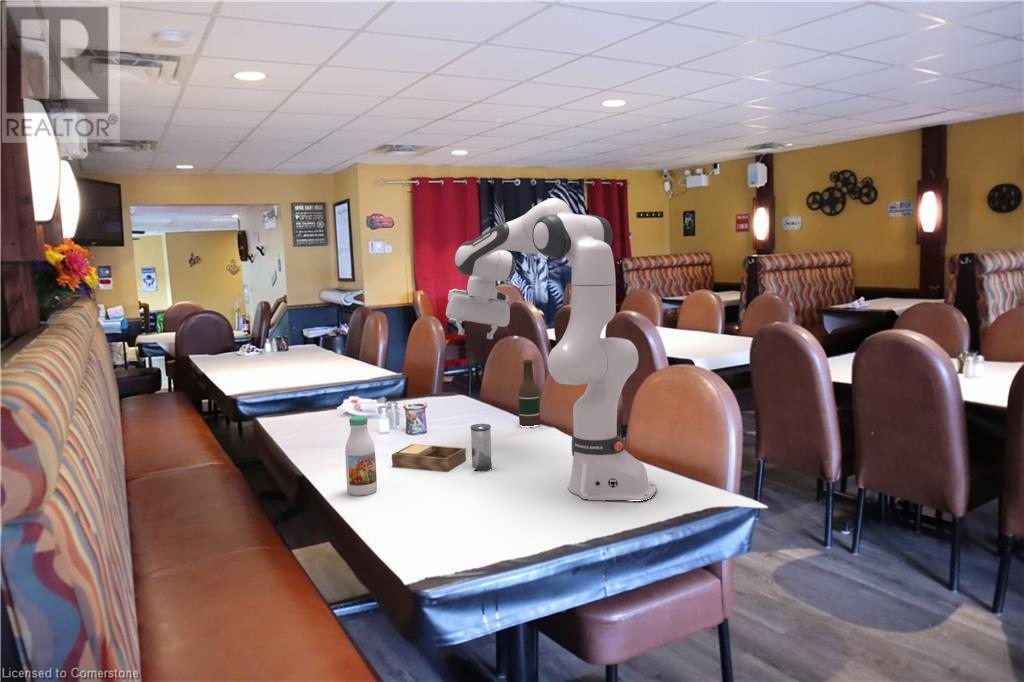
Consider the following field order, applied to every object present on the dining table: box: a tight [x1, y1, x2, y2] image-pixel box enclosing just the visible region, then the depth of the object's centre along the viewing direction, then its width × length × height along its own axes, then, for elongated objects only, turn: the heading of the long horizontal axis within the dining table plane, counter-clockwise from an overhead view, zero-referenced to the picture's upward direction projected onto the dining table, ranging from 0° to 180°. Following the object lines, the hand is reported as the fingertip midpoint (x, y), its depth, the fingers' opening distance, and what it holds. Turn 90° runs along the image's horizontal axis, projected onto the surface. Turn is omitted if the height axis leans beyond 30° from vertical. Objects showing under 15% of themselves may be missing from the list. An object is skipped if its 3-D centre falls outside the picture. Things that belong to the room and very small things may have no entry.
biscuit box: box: [399, 444, 433, 456], centre depth 211 cm, size 6×9×4 cm, turn 158°
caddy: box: [391, 443, 467, 473], centre depth 210 cm, size 18×12×4 cm, turn 68°
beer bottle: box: [517, 359, 541, 426], centre depth 256 cm, size 8×8×24 cm
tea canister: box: [470, 423, 493, 473], centre depth 205 cm, size 6×6×13 cm
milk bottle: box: [344, 415, 378, 497], centre depth 187 cm, size 8×8×20 cm
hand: (475, 336), depth 223 cm, fingers open, 8 cm apart
